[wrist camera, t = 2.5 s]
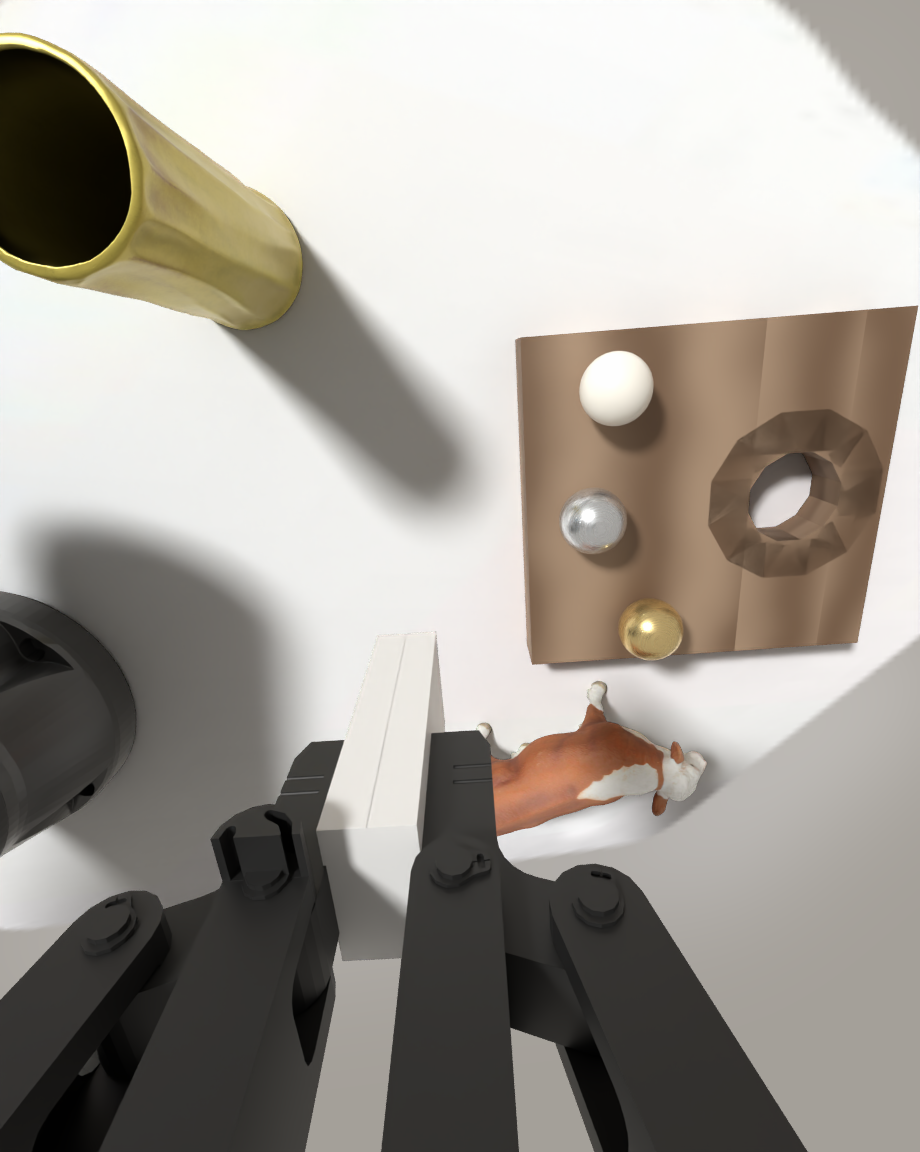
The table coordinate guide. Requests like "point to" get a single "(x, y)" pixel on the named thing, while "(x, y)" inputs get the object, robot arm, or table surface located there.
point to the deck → (712, 480)
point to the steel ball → (593, 520)
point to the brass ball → (650, 629)
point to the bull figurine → (587, 771)
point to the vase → (129, 199)
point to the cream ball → (616, 388)
